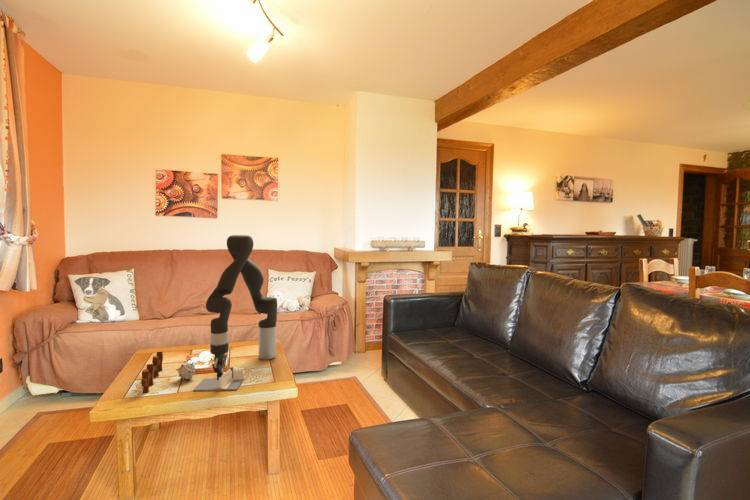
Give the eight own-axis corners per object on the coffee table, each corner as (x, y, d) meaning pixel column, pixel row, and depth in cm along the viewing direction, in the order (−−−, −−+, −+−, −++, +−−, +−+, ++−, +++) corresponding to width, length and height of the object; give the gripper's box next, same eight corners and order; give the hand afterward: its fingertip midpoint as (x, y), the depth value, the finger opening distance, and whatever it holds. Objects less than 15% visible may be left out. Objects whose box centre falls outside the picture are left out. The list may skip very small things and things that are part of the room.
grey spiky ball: (191, 386, 184) (205, 368, 185) (178, 386, 176) (192, 368, 177) (181, 373, 188) (195, 356, 189) (168, 373, 180) (181, 355, 181)
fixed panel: (233, 379, 182) (233, 368, 181) (234, 378, 183) (234, 367, 183) (243, 379, 182) (243, 368, 182) (244, 378, 183) (243, 367, 183)
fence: (158, 368, 197) (158, 348, 196) (164, 367, 197) (164, 348, 197) (139, 395, 165) (139, 372, 164) (147, 395, 165) (147, 371, 165)
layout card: (203, 379, 182) (203, 378, 182) (244, 378, 184) (244, 377, 184) (193, 391, 169) (192, 389, 169) (236, 390, 171) (236, 388, 171)
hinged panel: (231, 377, 183) (230, 366, 183) (233, 377, 183) (233, 366, 183) (218, 388, 170) (218, 377, 170) (221, 388, 170) (221, 377, 170)
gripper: (215, 337, 179) (216, 374, 180) (205, 346, 166) (206, 386, 167) (232, 337, 179) (233, 373, 181) (223, 346, 166) (224, 386, 168)
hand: (220, 379), depth 174 cm, fingers closed
